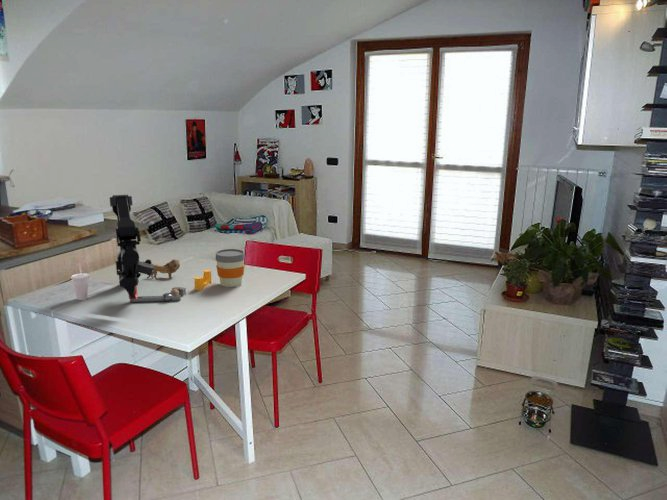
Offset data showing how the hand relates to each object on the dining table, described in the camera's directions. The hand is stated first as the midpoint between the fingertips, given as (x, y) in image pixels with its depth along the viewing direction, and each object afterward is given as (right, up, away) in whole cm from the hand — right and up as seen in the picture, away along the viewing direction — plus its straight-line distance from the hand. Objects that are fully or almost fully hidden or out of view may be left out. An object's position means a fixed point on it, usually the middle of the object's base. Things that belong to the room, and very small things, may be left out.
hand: (133, 295), depth 194 cm
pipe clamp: (+21, +1, +21) cm, 30 cm away
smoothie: (-23, -2, +6) cm, 24 cm away
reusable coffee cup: (+33, +2, +25) cm, 42 cm away
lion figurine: (+1, +5, +33) cm, 33 cm away
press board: (+4, -3, +4) cm, 6 cm away
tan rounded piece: (+14, -1, +7) cm, 16 cm away
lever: (+8, -2, +2) cm, 8 cm away
